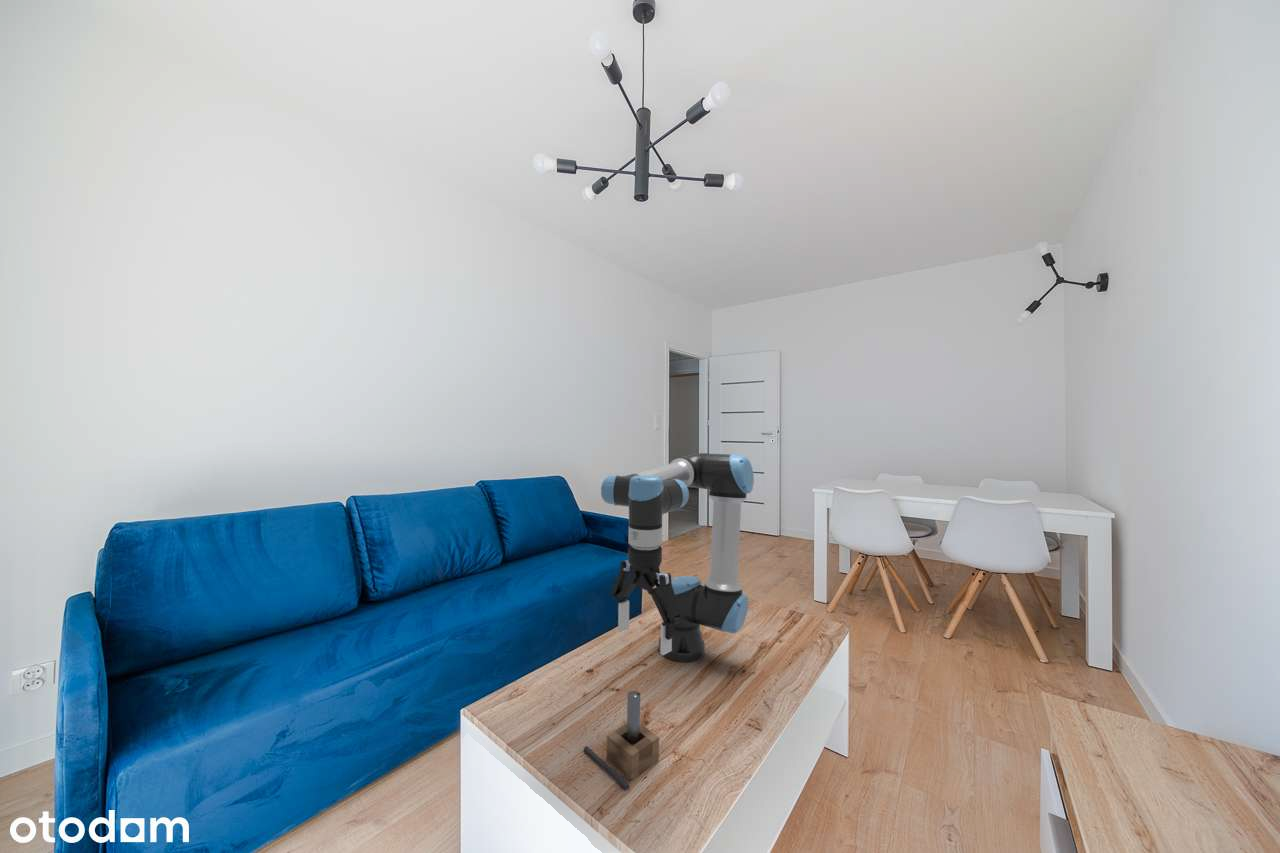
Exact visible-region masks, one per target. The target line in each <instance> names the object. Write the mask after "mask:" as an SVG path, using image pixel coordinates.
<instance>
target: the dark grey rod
mask: <svg viewBox="0 0 1280 853" xmlns="http://www.w3.org/2000/svg"><path fill="white" fill-rule="evenodd" d="M583 752H584V753H585V754H586V755H587V756H589V758H590V759H591V760H592V761H594V762H595V763H596V765H598V766H599V767H600V768H601V769H603V771H604V772H606V773H607V774H608V775H609V776H610V777H611V778H612V779H613V780H614V781H615V782H617V783H618V784H619V785H620V786H621V787H622V788H623V789H624V790H625V791H626V790H629V788H630V784H629V782H628V781H627V780H626V779H624V778H623V777H622V776H621V775H620V774H619V773H618V772H616V770H614V769H613V768H612V767H611V765H609V764H608V763H606V761H604V760H603V759H602V758H601V757H600V756H599V755H598V754H597V753H595V751H593V750H592V749H591V748H590V747H589V746H588V745H586V746H584V747H583Z"/></svg>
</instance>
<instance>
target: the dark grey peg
mask: <svg viewBox="0 0 1280 853" xmlns="http://www.w3.org/2000/svg"><path fill="white" fill-rule="evenodd" d="M626 701H627V706H626V708H627V711H626V723H627V742H629V743H630V744H631V745H632V746H633V745H634V744H636V743H637V742H639V739H640V724H641V693H640V692H639V691H638V690H631V691H629V692H627V700H626Z"/></svg>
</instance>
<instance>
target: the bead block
mask: <svg viewBox="0 0 1280 853" xmlns="http://www.w3.org/2000/svg"><path fill="white" fill-rule="evenodd" d="M659 754H660V737H659V735H657V734H655V733H654V732H652V731H651V730H650V729H649V728H648V727H646V726H644V725H643V724H642V723H640V739H639V742H637V743H636V744H634V745H633V746H632V745H631V744H630V743H629V742H627V722H626V723H625V724H623V725H622V726H620V727H618V728H616V729H615V730H613V731H612V732H610V733H608V734H607V735H606V759H607V760H608V761H609V762H610V763H611V764H612V765H613V766H615V767H616V769H618V770H619V771H620V772H621V773H623V775H625V776H626V777H627V778H628V779H629V781H633V780H634V779H635V778H637V777H638V776H639V775H641V774H642V773H644V772H645V771H647V770H648V769H649V768H650V767H652V766H654V764H656V763H657V762H658V761H659V759H660V756H659Z"/></svg>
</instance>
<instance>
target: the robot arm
mask: <svg viewBox="0 0 1280 853" xmlns="http://www.w3.org/2000/svg"><path fill="white" fill-rule="evenodd" d="M754 481H755V479H754V470H753V467H752V464H751V461H750V460H749V459H748V457H747V456H744V455H741V454H740V455H738V454H730V453H729V454H727V453H725V454H723V453H709V452H708V453H705V452H701V453H695V454H689V455H686V456H682V457H678V458H675V459H673V460H672V461H670V463H668V464H665V465H661V466H657V467H654V468H650V469H647V470H643V471H640V472H639V471H638V472H637V473H631V474H628V475H618V474H616V475H608V476H606V477H605V478H604V479H603V481H602V483H601V485H600V486H601V487H600V490H601V491H600V495H601V498H602V500H603V501H604V502H605V503H606V504H609V505H614V506H617V507H618V506H620V507H628V538H627V540H628V541H627V542H628V544H629V546H628V547H627V560H622V561H620V564H619V565H620V566H619V570H618V571H619V572H618V574H617V577H616V580H615V582H614V585H613V587H612V590H611V592H610V595H611V597H612V598H615V601H616V602H617V604H616V606H617V608H616V610H617V611H616V613H617V615H618V620H617V624H618V626H617V631H618V632H619V633H622V632H624V631H627V630H629V629H630V600H628V599H629V596H630V595H631V593H633V591H634V590H635V589H636V587H637V588H642V589H643V590H644V591H647V593H648V595H650V596H651V598H652V600H653V602H654V604H655V606H656V608H657V611H658V612H659V615H660V617H661V620H662V622H660V637H659V640H658V652H659V653H660V655H661V656H663V657H664V658H666V659H667V660H672V661H676V662H679V663H680V662H681V663H682V662H684V663H687V662H694V661H697V660H699V659H701V658H703V657H704V655H705V651H706V645H705V641H704V639H703V635H702V631H701V626H704V627H707V628H711V629H714V630H718V631H721V632H722V633H729V634H737V633H739V631H740V630H742V627H743V626H744V623H745V621H746V618H747V614H748V612H749V605H750V604H749V597H748V595H746V594H744V593H743V585H742V584H741V583H740V582H739V581H738V576H739V560H740V559H739V557H740V555H739V554H740V539H741V538H740V536H741V535H740V534H741V531H740V530H741V514H742V513H741V511H742V508H741V507H742V503H743V502H744V501H746V499H747V495H748V494H751V493H752V491H753V489H754V483H755V482H754ZM689 488H693V489H694V488H695V489H704V490H708V491H709V492H708V497H710V499H711V500H712V501H713V506H712V526H711V544H710V547H711V548H710V566H709V578H708V579H707V580H705V581H704V585H703V584H702V581H701V578H699V577H697V576H694V575H693V576H692V575H682V576H675V577H673V578H672V575H671V573H670V572H667V573H661V570H660V565H661V564H662V561H663V560H662V559H663V558H662V556H663V548H662V547H661V545H662V544H663V515H664V514H668V513H672V512H676V511H679V509H681V508H683V507H684V506H686V504H687V503H688V501H689V498H690V492H689ZM630 574H631V575H630ZM655 586H656V587H655Z"/></svg>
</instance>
